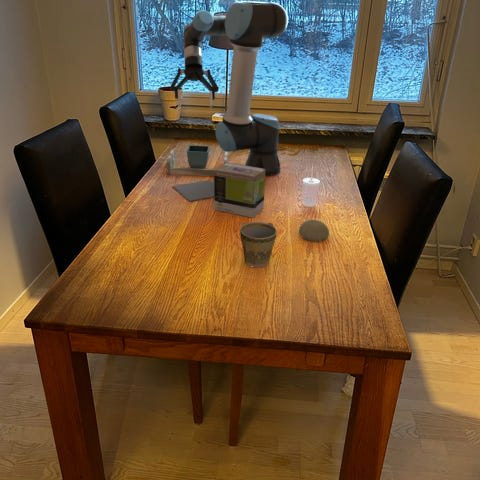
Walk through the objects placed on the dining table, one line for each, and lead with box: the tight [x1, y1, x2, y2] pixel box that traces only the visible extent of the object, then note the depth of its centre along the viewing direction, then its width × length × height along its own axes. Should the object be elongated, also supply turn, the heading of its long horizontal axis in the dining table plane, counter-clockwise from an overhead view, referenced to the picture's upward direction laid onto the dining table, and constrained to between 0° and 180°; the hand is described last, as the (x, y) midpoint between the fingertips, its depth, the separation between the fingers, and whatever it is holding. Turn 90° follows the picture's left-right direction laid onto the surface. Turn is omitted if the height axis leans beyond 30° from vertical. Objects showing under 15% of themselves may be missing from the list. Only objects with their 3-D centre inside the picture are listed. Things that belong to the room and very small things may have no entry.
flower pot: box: [186, 144, 211, 169], centre depth 195 cm, size 9×9×9 cm
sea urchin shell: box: [298, 219, 330, 242], centre depth 144 cm, size 9×8×8 cm
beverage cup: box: [301, 166, 321, 207], centre depth 164 cm, size 6×6×14 cm
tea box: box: [213, 162, 266, 219], centre depth 158 cm, size 15×10×15 cm
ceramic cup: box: [239, 221, 278, 268], centre depth 129 cm, size 13×10×10 cm
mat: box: [171, 179, 214, 203], centre depth 175 cm, size 16×16×1 cm
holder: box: [166, 148, 229, 177], centre depth 196 cm, size 16×24×6 cm, turn 89°
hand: (195, 106), depth 194 cm, fingers open, 13 cm apart
